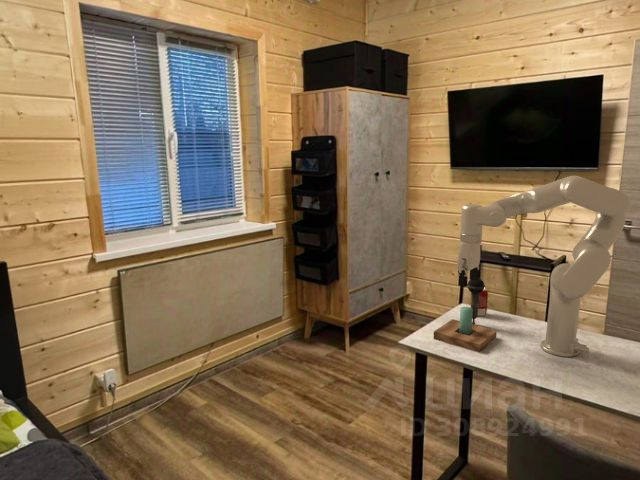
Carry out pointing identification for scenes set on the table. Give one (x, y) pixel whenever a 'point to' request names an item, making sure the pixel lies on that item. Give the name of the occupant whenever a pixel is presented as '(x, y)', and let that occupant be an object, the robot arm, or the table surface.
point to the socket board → (465, 336)
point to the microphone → (475, 295)
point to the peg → (465, 320)
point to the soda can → (483, 303)
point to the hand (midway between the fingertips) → (468, 283)
